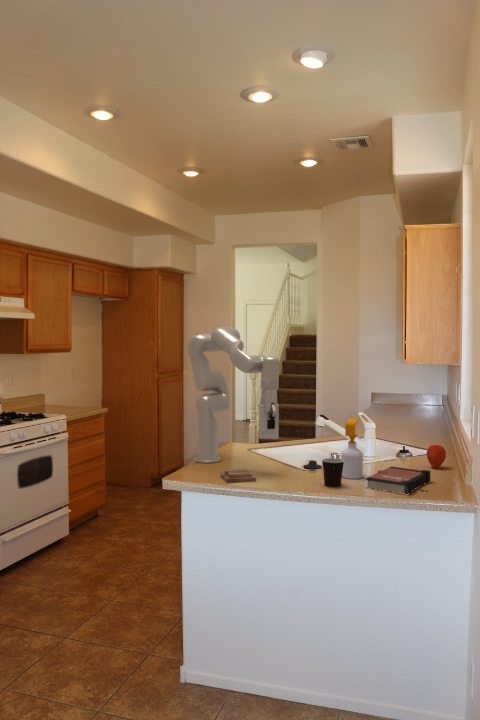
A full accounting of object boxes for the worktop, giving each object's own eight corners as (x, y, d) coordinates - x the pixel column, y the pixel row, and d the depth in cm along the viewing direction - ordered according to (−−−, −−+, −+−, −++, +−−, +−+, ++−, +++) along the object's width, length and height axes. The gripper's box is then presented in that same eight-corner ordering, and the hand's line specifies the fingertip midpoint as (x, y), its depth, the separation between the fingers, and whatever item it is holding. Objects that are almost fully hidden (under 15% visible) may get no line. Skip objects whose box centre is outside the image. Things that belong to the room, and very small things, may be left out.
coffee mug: (326, 481, 243) (327, 457, 242) (346, 484, 238) (347, 459, 238) (315, 487, 233) (315, 462, 232) (335, 490, 228) (336, 465, 228)
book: (389, 476, 255) (389, 465, 255) (430, 482, 245) (430, 470, 244) (364, 489, 234) (364, 476, 233) (407, 496, 223) (408, 483, 223)
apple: (438, 471, 264) (439, 446, 264) (422, 467, 271) (422, 444, 270) (449, 468, 270) (449, 444, 269) (432, 465, 276) (433, 442, 276)
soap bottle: (365, 475, 254) (366, 418, 253) (358, 480, 246) (359, 421, 245) (345, 473, 258) (346, 417, 257) (337, 477, 250) (338, 419, 249)
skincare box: (277, 436, 258) (278, 402, 257) (278, 439, 252) (279, 404, 251) (257, 436, 258) (258, 402, 257) (259, 439, 252) (260, 404, 251)
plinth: (220, 476, 251) (220, 469, 251) (247, 474, 254) (248, 467, 254) (227, 482, 239) (227, 475, 239) (255, 481, 242) (255, 474, 242)
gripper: (255, 383, 261) (254, 424, 262) (267, 388, 244) (266, 431, 245) (271, 383, 263) (270, 423, 264) (284, 387, 246) (283, 430, 247)
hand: (268, 427), depth 255 cm, fingers closed on skincare box, 6 cm apart
